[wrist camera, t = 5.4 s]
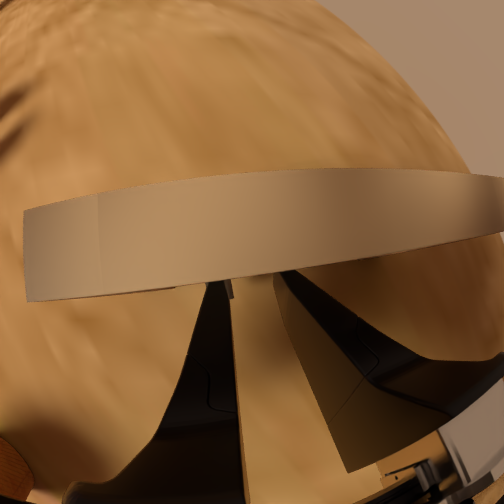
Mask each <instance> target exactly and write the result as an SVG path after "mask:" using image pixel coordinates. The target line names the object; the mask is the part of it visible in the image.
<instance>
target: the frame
mask: <svg viewBox="0 0 504 504" xmlns="http://www.w3.org/2000/svg"><path fill="white" fill-rule="evenodd" d="M503 231H504V178H501V177H494V176H486V175H477V174H467V173H457V172H445V171H430V170H412V169H382V168H330V169H299V170H279V171H264V172H250V173H238V174H227V175H217V176H208V177H199V178H191V179H183V180H175V181H168V182H161V183H154V184H148V185H142V186H135V187H130V188H124V189H118V190H113V191H107V192H102V193H97V194H92V195H87V196H83V197H78V198H73V199H69V200H65V201H60V202H56V203H52V204H48V205H44V206H40V207H36V208H32V209H28V210H25V211H24V218H23V257H24V276H25V288H26V297H27V302H39V301H53V300H65V299H77V298H89V297H100V296H111V295H121V294H131V293H141V292H149V291H157V290H165V289H173V287H176V286H184V285H191V284H199V283H206V282H214V281H221V280H228V279H235V278H242V277H249V276H256V275H262V274H269V273H276V272H282V271H289V270H295V269H302V268H308V267H314V266H320V265H327V264H333V263H339V262H345V261H351V260H356V259H358V261H359V260H365V259H370V258H376V257H381V256H387V255H392V254H397V253H403V252H408V251H413V250H418V249H423V248H428V247H433V246H438V245H443V244H448V243H452V242H457V241H462V240H467V239H471V238H476V237H480V236H485V235H489V234H494V233H498V232H503Z"/></svg>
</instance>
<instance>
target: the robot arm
mask: <svg viewBox="0 0 504 504" xmlns="http://www.w3.org/2000/svg"><path fill="white" fill-rule="evenodd" d="M273 286H274V291H275V294H276V297H277V301H278V304H279V308H280V311H281V315H282V318H283V322H284V325H285V327H286V330H287V332H288V335H289V337H290V339H291V342H292V344H293V346H294V349H295V351H296V353H297V356H298V358H299V360H300V363H301V365H302V367H303V370H304V372H305V374H306V377H307V379H308V381H309V384H310V386H311V388H312V391H313V393H314V395H315V398H316V400H317V402H318V405H319V407H320V410H321V412H322V414H323V417H324V419H325V421H326V424H327V425H328V428H329V431H330V433H331V436H332V438H333V440H334V443H335V445H336V447H337V450H338V452H339V454H340V457H341V459H342V461H343V464H344V466H345V468H346V471H347V473H351V472H354V471H356V470H359V469H361V468H363V467H366V466H368V465H370V464H373V463H375V462H376V465H377V467H378V469H379V472H380V474H381V476H382V478H380V481H381V483H382V486H383V488H384V489H383V490H381V491H379V492H377V493H375V494H373V495H371V496H369V497H366V498H364V499H362V500H360V501H358V502H355V503H353V504H475V502H474V500H473V499H471V498H472V497H474V496H475V495H476V494H478V493H479V492H481V491H482V490H484V489H486V488H487V487H488V486H489V485H491V484H492V483H493V482H495V481H496V480H497V479H498V478H499V477H500V476H501V475H502V474H503V473H504V381H503V380H502V377H503V376H504V352H500V353H499V354H497V355H496V356H495V357H494V358H492V359H490V360H487V361H444V360H432V359H428V358H425V357H422V356H420V355H418V354H416V353H415V352H413V351H411V350H410V349H408V348H406V347H405V346H403V345H401V344H399V343H398V342H396V341H394V340H393V339H391V338H389V337H388V336H386V335H385V334H383V333H382V332H380V331H378V330H377V329H376V328H374V327H373V326H371V325H370V324H368V323H367V322H366V321H364V320H363V319H362V318H360V317H358V316H357V315H356V314H355V313H353V312H352V311H351V310H349V309H348V308H347V307H345V306H344V305H343V304H341V303H340V302H338V301H337V300H336V299H334V298H333V297H332V296H330V295H329V294H328V293H326V292H325V291H323V290H322V289H321V288H319V287H318V286H317V285H315V284H314V283H313V282H311V281H310V280H308V279H307V278H306V277H304V276H303V275H302V274H300V273H299V272H297V271H296V270H289V271H282V272H276V273H274V276H273ZM187 354H188V355H186V358H185V362H184V365H183V368H182V371H181V375H180V378H179V380H178V383H177V385H176V388H175V390H174V393H173V395H172V397H171V400H170V402H169V404H168V406H167V409H166V411H165V413H164V416H163V418H162V420H161V423H160V425H159V427H158V429H157V431H156V433H155V434H154V436H153V438H152V439H151V440H150V441H149V443H148V444H147V445H146V446H145V447H144V448H143V449H142V450H141V451H140V452H139V453H138V454H137V455H136V457H135V458H134V459H133V460H132V461H131V462H130V463H129V464H128V465H127V466H126V467H125V468H124V469H123V470H122V471H121V472H120V473H119V474H118V475H117V476H116V477H114V478H113V479H111V480H109V481H107V482H103V483H92V482H84V481H72V482H71V483H70V485H69V486H68V488H67V490H66V492H65V493H64V496H63V499H62V504H250V503H251V502H250V495H249V487H248V479H247V471H246V462H245V454H244V445H243V435H242V426H241V416H240V406H239V396H238V386H237V375H236V364H235V352H234V340H233V330H232V320H231V309H230V300H229V296H228V292H227V289H226V285H225V282H224V280H221V281H214V282H208V284H207V288H206V291H205V294H204V297H203V301H202V304H201V307H200V311H199V314H198V317H197V321H196V324H195V328H194V331H193V334H192V338H191V341H190V345H189V348H188V352H187ZM0 504H35V503H31V502H27V501H24V500H20V499H16V498H13V497H10V496H7V495H4V494H1V493H0ZM496 504H504V495H503V496H502V497H501V498H500V499H499V500H498V501H497V503H496Z"/></svg>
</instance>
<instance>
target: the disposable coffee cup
mask: <svg viewBox="0 0 504 504" xmlns="http://www.w3.org/2000/svg"><path fill="white" fill-rule="evenodd" d="M33 486H34V477H33V475H32V472H31V470H30V469H29V467H28V465H27V464H26V462H25V461H24V459H23V458H22V457H21V456H20V454H19V453H18V452H17V451H16V450H15V449H14V448H13V447H12V446H11V445H10V444H9V443H7V442H6V441H5V440H4V439H2V438H1V437H0V493H1V494H4V495H7V496H10V497H13V498H16V499H20V500H24V501H26V499H27V497H28V495H29V493H30V491H31V489H32V488H33Z"/></svg>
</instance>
